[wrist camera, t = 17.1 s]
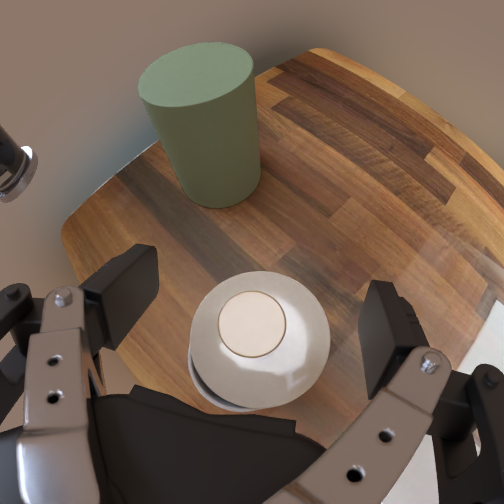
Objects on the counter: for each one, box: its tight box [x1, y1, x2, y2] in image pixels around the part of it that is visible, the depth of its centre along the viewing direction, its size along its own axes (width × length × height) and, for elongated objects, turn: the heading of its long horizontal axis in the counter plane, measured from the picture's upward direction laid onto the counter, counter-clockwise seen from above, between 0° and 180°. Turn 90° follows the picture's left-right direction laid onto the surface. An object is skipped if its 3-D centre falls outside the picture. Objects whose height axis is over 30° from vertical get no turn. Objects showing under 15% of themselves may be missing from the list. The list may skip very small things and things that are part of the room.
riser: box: [138, 42, 261, 208], centre depth 29 cm, size 10×10×16 cm
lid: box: [190, 271, 330, 409], centre depth 14 cm, size 8×8×8 cm
